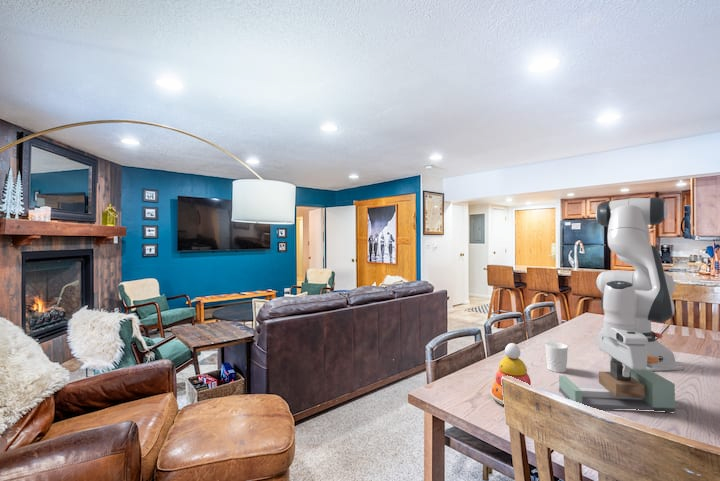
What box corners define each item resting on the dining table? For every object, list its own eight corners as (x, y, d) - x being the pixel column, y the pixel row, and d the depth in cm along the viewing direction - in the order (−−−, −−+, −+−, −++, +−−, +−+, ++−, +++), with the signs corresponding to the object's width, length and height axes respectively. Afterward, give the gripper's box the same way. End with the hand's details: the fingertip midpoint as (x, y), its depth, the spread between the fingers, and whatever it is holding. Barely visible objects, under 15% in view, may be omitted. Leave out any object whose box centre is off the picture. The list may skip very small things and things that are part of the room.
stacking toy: (488, 388, 122) (487, 335, 121) (532, 393, 118) (531, 337, 117) (492, 408, 108) (491, 347, 108) (541, 414, 104) (540, 351, 104)
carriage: (624, 384, 115) (624, 357, 115) (644, 398, 105) (644, 369, 105) (598, 382, 116) (598, 357, 116) (616, 396, 106) (615, 368, 106)
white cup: (560, 374, 132) (559, 349, 132) (541, 368, 139) (541, 344, 139) (572, 370, 136) (571, 346, 136) (553, 364, 143) (552, 341, 143)
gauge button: (652, 364, 111) (652, 354, 111) (662, 369, 106) (662, 359, 106) (637, 364, 111) (637, 354, 111) (646, 369, 107) (646, 359, 107)
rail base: (647, 394, 114) (647, 368, 114) (675, 413, 103) (674, 384, 102) (559, 390, 119) (558, 365, 119) (575, 407, 107) (574, 379, 107)
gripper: (592, 322, 121) (593, 361, 121) (628, 340, 101) (629, 386, 101) (612, 323, 120) (612, 361, 120) (652, 340, 100) (652, 387, 100)
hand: (620, 373), depth 110 cm, fingers closed on carriage, 4 cm apart
